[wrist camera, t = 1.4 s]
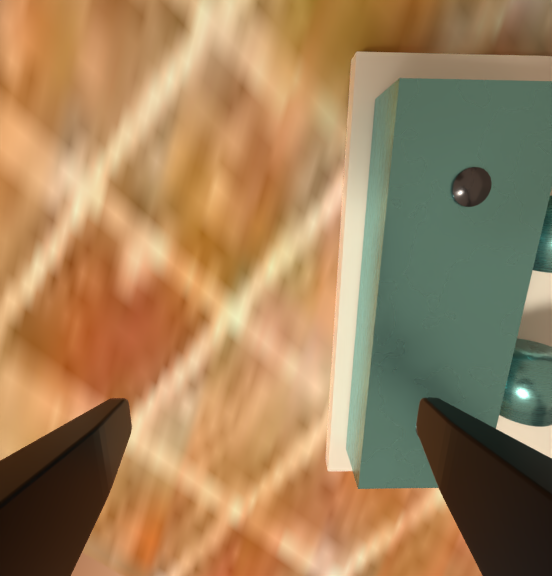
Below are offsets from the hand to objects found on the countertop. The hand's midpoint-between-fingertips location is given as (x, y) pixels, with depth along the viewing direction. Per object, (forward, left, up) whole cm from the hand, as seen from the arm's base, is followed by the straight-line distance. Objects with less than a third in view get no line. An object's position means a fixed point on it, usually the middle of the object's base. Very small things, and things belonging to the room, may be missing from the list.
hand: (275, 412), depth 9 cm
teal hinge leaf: (0, -10, -10) cm, 14 cm away
